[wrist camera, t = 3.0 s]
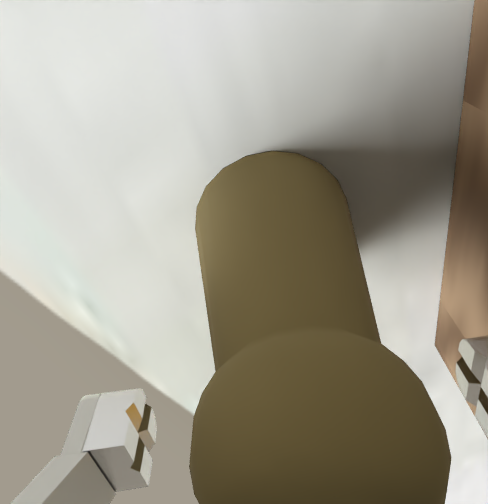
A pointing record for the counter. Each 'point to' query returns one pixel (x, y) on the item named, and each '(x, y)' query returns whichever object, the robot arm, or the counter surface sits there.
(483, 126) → the well block
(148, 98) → the counter surface
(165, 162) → the counter surface
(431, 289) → the counter surface
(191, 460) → the cork
